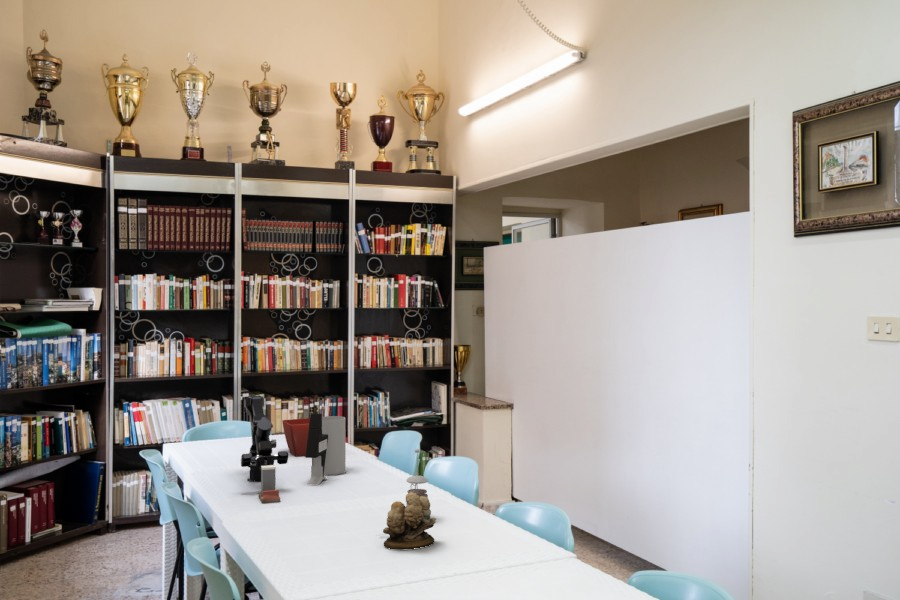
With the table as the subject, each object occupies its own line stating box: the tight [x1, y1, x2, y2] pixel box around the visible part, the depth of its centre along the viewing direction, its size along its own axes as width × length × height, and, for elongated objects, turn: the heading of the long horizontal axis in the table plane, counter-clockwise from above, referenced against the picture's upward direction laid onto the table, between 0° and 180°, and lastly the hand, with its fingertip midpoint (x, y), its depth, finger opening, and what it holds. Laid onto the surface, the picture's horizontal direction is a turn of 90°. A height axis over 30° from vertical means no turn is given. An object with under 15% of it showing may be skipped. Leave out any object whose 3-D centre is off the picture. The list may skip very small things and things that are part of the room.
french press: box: [405, 448, 429, 506], centre depth 292 cm, size 10×12×25 cm
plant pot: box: [281, 417, 310, 457], centre depth 411 cm, size 19×19×17 cm
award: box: [304, 412, 328, 486], centre depth 347 cm, size 15×5×30 cm, turn 168°
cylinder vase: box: [322, 415, 346, 476], centre depth 366 cm, size 12×12×25 cm
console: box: [258, 489, 281, 504], centre depth 317 cm, size 11×7×4 cm, turn 21°
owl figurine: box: [382, 492, 437, 550], centre depth 260 cm, size 18×12×17 cm, turn 116°
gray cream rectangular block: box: [260, 464, 277, 495], centre depth 320 cm, size 4×5×11 cm
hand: (266, 476), depth 324 cm, fingers closed
